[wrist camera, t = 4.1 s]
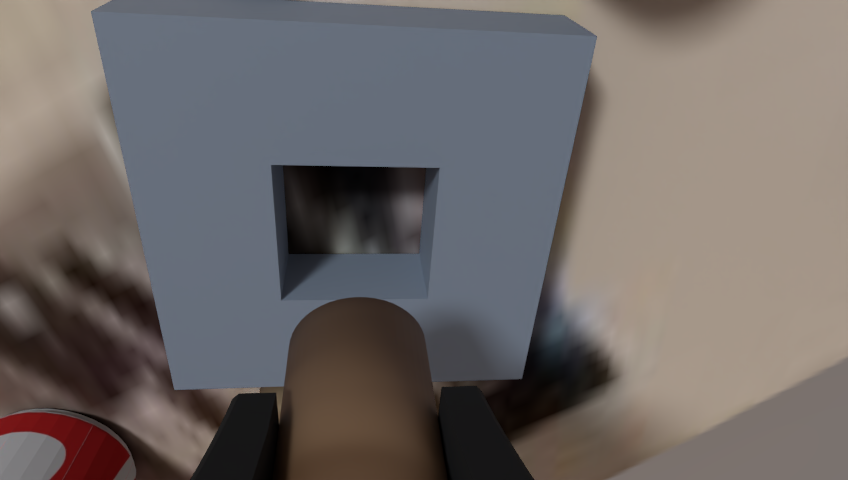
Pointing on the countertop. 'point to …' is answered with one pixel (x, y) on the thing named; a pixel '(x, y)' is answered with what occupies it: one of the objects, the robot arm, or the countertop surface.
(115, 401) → the countertop surface
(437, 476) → the long walnut pin
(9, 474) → the beverage can
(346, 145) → the hole block
